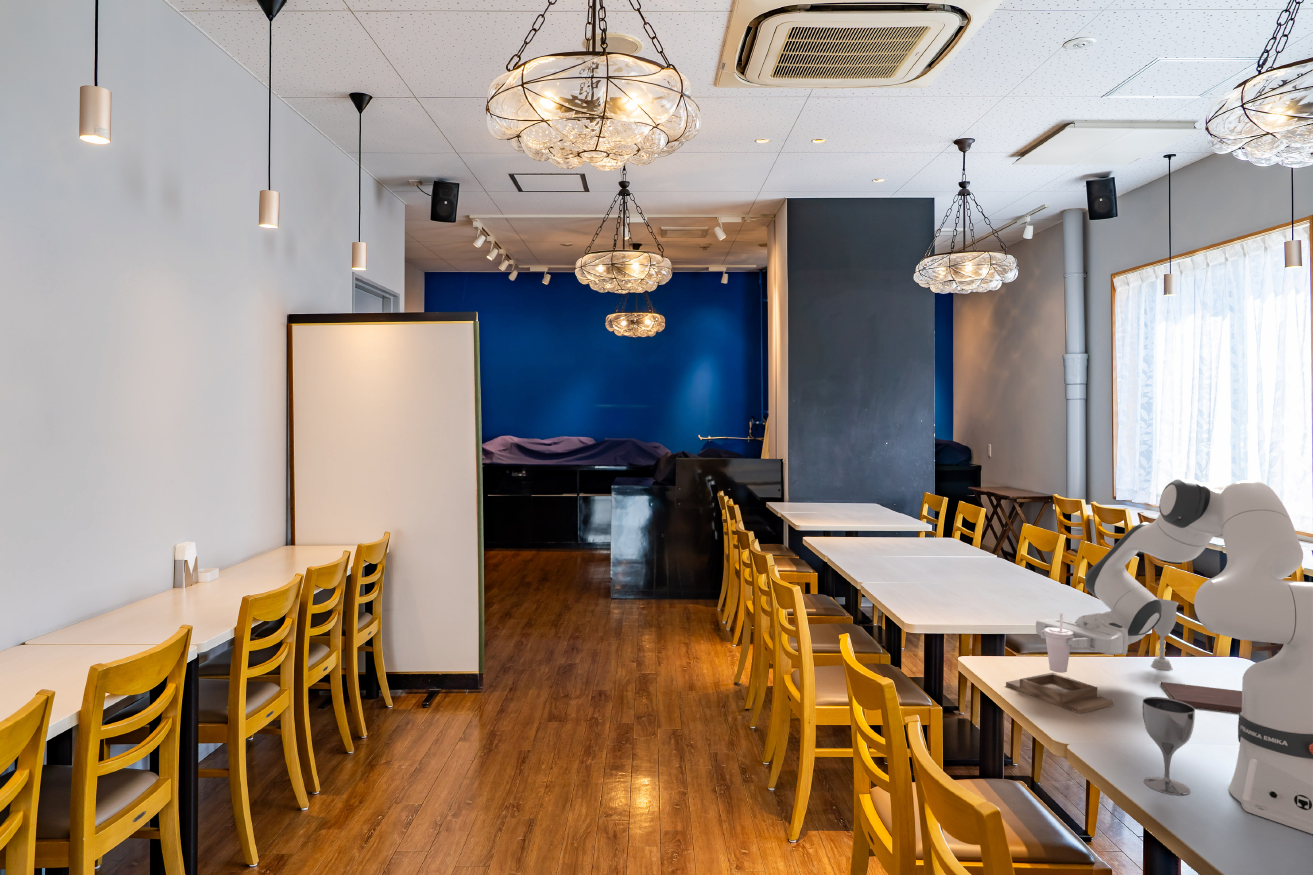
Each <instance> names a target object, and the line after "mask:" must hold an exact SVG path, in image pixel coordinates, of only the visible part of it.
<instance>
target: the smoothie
mask: <svg viewBox="0 0 1313 875" xmlns="http://www.w3.org/2000/svg"><path fill="white" fill-rule="evenodd" d="M1063 615H1064V614H1063V613H1062V612H1060V613H1059V619H1060V628H1053V627H1052V628H1045V629H1044V634H1045V635H1046V639H1045V641H1046V642H1045V643H1046V650H1047V655H1048V656H1047V657H1048V666H1049V670H1050V671H1052V672H1053V673H1062V674H1063V673H1067V672H1068V665H1069V658H1070V653H1071V646H1068V639H1069V638H1072V637H1073V632H1072V631H1070V630H1067V629H1063V628H1062V620H1064V619H1063Z"/></svg>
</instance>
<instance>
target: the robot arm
mask: <svg viewBox="0 0 1313 875" xmlns="http://www.w3.org/2000/svg"><path fill="white" fill-rule="evenodd" d="M1158 505H1159V514H1158V516H1157V517H1156V519H1155V520H1154V521H1153V522H1147V521H1143V522H1142V523H1139V524H1137V525H1135V526H1134V527H1132V528H1131V529H1129V530H1128V531H1127V532H1126V533H1125V534H1124V535H1123V536H1122V537H1121V538H1120V539H1119V540H1118V541H1117V542H1116V543H1115V544H1114V546H1113V547H1111V549H1109V551H1108V552H1107V553H1106V554H1105V555H1104V556H1102V558H1101V559H1100V560H1099V561H1098V562H1096V563H1095V564H1094V565H1092V566H1091V567H1090V568H1089V569H1088V570H1087V571H1086V573H1085V575H1084V584H1085V589H1086V590H1087V591H1088V592H1089V593H1090V594H1092V595H1093V596H1094V597H1095V598H1097V599H1098V600H1100V601H1101V603H1103V604H1104V605H1105V606H1106V607H1107V608H1108V609H1109V611H1104V612H1103V613H1102V612H1097V613H1096V612H1095V613H1092V614H1085V615H1081V616H1079V617H1078V618H1077V619H1076V620H1075V622H1073V621H1069V620H1065V619H1063V620H1062V628H1063V629H1067V630H1070V631H1072V632H1073V637H1072V638H1069V639H1068V646H1071V647H1072V648H1083V649H1085V650H1086V651H1090V652H1098V653H1102V654H1104V655H1111V656H1112V655H1120V656H1121V655H1127V654H1128V648H1129V645H1131V644H1133V643H1136V642H1138V641H1140V640H1141V639H1143V638H1144V637H1145V636H1146V635H1147V634H1148V633H1149V632H1150V631H1152V630H1154V627H1155V626H1156V624H1157V623H1158V622H1159V620H1160V618H1161V613H1162V605H1161V602H1160V600H1158V599H1159V598H1158V597H1157V596H1155V594H1153V593H1152V592H1151V591H1149V589H1148V588H1146V587H1145V586H1143V585H1142V584H1141V583H1140V582H1139V581H1138V580H1137V579H1136V578H1134V577H1133V575H1131V574H1130V573H1129V572H1128V570H1127V568H1126V565H1127V564H1128V563H1129V562H1130V561H1131V560H1132V559H1133V558H1134V557H1135V556H1136V555H1137V554H1138V553H1140V552H1141V553H1144V554H1147V555H1149V556H1152V557H1154V558H1156V559H1158V560H1161V561H1166V562H1170V563H1187V562H1190V561H1193V560H1194V559H1196V558H1197V557H1199V556H1200V555H1201V554H1202V553H1203V551H1205V549H1206V548H1207V546H1208V545H1209V544H1210V542H1211V541H1212V539H1213V538H1216V539H1221V540H1223V543H1224V546H1225V547H1224V548H1225V553H1226V565H1225V567H1224V569H1223V570H1222V571H1221V572H1220V573H1219V574H1217V575H1215V576H1213V577H1212V578H1209V579H1207V580H1206V581H1204V582H1203V583H1202V584H1201V585H1200V586H1199V587H1198V589H1197V591H1196V592H1195V593H1196V594H1195V596H1194V601H1193V602H1194V603H1193V606H1194V611H1195V612H1194V613H1195V614H1196V616H1197V619H1198V621H1199V622H1200V623H1201V625H1202V626H1203V627H1204V628H1205V629H1206V630H1207V631H1208V632H1210V633H1213V634H1216V635H1217V634H1218V635H1220V636H1224V637H1228V638H1233V639H1236V640H1240V641H1241V640H1242V641H1248V642H1249V641H1252V642H1261V643H1273V644H1283V646H1282V648H1281V649H1280V651H1279V652H1278V653H1276V654H1275V655H1273V656H1272V657H1271V658H1268V659H1265V660H1262V661H1261V660H1260V661H1257V662H1256V663H1253V664H1251V665H1250V666H1249V667H1248V668H1247V669H1246V670H1245V671H1244V673H1243V675H1242V684H1241V685H1242V686H1241V691H1242V712H1240V713H1238V721H1237V722H1238V724H1237V740H1238V744H1239V747H1238V754H1237V760H1236V766H1235V769H1234V772H1233V776H1232V778H1231V781H1230V783H1229V785H1228V792H1229V794H1231V795H1232V796H1233V797H1234V798H1235V799H1236V800H1237V801H1238V802H1240V803H1241V806H1242V809H1243V810H1244V811H1246V812H1248V813H1250V814H1252V815H1254V816H1255V815H1256V816H1259V817H1261V818H1265V819H1267V820H1270V821H1273V822H1276V823H1279V824H1282V825H1285V826H1287V827H1291V828H1294V829H1296V830H1299V831H1302V832H1305V833H1308V834H1311V835H1313V582H1311V581H1310V582H1309V581H1297V580H1284V579H1286V578H1288V577H1289V576H1291V575H1292V574H1294V573H1295V572H1296V571H1297V570H1298V569H1299V568H1300V566H1301V565H1302V563H1303V559H1304V551H1303V548H1302V546H1301V544H1300V540H1299V538H1298V534H1297V532H1296V530H1295V527H1294V524H1293V522H1292V520H1291V518H1290V517H1291V516H1290V515H1289V513H1288V511H1287V508H1286V507H1285V505H1284V504H1283V502H1282V500H1281V499H1280V497H1279V496H1278V495H1277V493H1276V492H1275V491H1274V490H1273V489H1272V488H1271V487H1270V486H1268V485H1266V484H1265V483H1263V482H1260V481H1256V480H1240V481H1236V482H1233V483H1231V484H1229V485H1225V484H1219V483H1213V482H1205V481H1198V480H1196V479H1191V478H1189V479H1188V478H1180V479H1174V480H1173V481H1171V482H1169V483H1168V484H1166V486H1165V487H1164V488H1163V491H1162V493H1161V496H1160V498H1159V504H1158ZM1052 627H1053V628H1060V618H1041V619H1037V620H1036V621H1035V633H1036V634H1037V635H1039V636H1040V639H1041V638H1042V639H1044V640H1046V635H1045V634H1044V629H1045V628H1052ZM1071 647H1070V648H1071Z"/></svg>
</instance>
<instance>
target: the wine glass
mask: <svg viewBox="0 0 1313 875" xmlns="http://www.w3.org/2000/svg"><path fill="white" fill-rule="evenodd" d="M1141 708H1142V719H1143V723H1144V724H1143V725H1144V727H1145V730H1146V732H1147V734H1148V736H1149V737H1150V738H1151V740H1152V741H1153V742H1154V743H1155V744H1156V745H1157V747H1158V748H1159V749H1160V752H1161V754H1162V757H1163V764H1164V765H1163V766H1164V772H1163V774H1164V776H1162V777H1161V776H1148V777H1145V778H1144V779H1143V783H1144V784H1145V785H1146V786H1147V787H1148V788H1151V789H1152V790H1154V791H1157V792H1159V793H1163V794H1166V795H1171V796H1187V795H1190V794H1191V789H1190V787H1188V786H1187V785H1185V784H1184V783H1182V782H1180V781H1177V780H1175V779H1172V778H1170V774H1171V773H1170V771H1171V762H1172V757H1173V755H1174V754H1175V753H1176V751H1177V750H1179V749H1180V748H1182V747H1183V746H1185V745H1186V744H1188V742H1189V741H1190V739H1191V738H1192V735H1193V732H1194V731H1193V730H1194V727H1195V719H1196V715H1195V714H1196V708H1194V707H1193V706H1191V705H1189V704H1187V703H1185V702H1182V701H1178V700H1175V699H1171V698H1170V697H1169V698H1168V697H1162V696H1148V697H1143V699H1142V707H1141Z"/></svg>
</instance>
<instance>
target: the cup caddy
mask: <svg viewBox="0 0 1313 875" xmlns="http://www.w3.org/2000/svg"><path fill="white" fill-rule="evenodd" d="M1005 686H1006V687H1007V688H1010V689H1013V690H1015V689H1016V691H1018V692H1020V693H1023V692H1024V693H1023V694H1026V695H1029V696H1032V697H1033V698H1037V699H1040V700H1043V701H1045V702H1047V703H1050V704H1052V705H1056V706H1059V707H1062V708H1064V709H1067V710H1069V711H1071V712H1075V713H1078V714H1083V713H1088V712H1091V711H1096V710H1100V709H1104V708H1108V707H1113V706H1114V701H1113V700H1111V699H1108V698H1105V697H1102V696H1100V695H1098V686H1094V685H1092V684H1089V683H1088V684H1087V682H1083V681H1080V680H1076V679H1073V678H1070V677H1068V676H1064V675H1061V674H1058V673H1057V672H1049V673H1044V674H1038V675H1033V676H1028V677H1024V678H1019V679H1014V680H1010V681H1005Z"/></svg>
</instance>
